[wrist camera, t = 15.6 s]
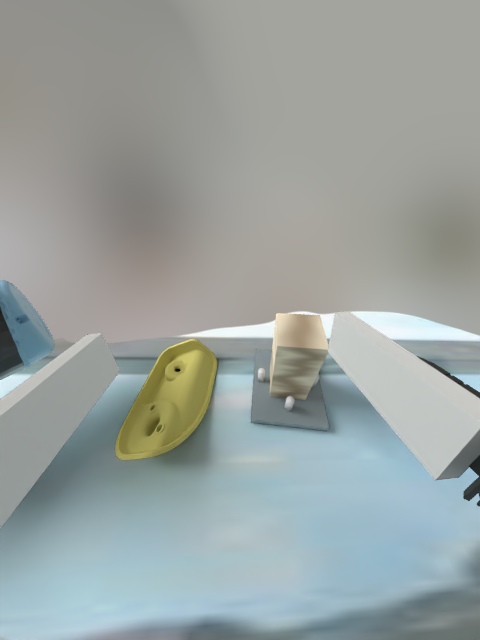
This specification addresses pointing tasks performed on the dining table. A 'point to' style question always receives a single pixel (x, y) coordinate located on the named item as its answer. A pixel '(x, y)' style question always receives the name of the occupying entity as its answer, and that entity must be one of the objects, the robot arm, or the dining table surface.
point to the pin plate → (285, 401)
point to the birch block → (296, 354)
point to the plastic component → (169, 402)
